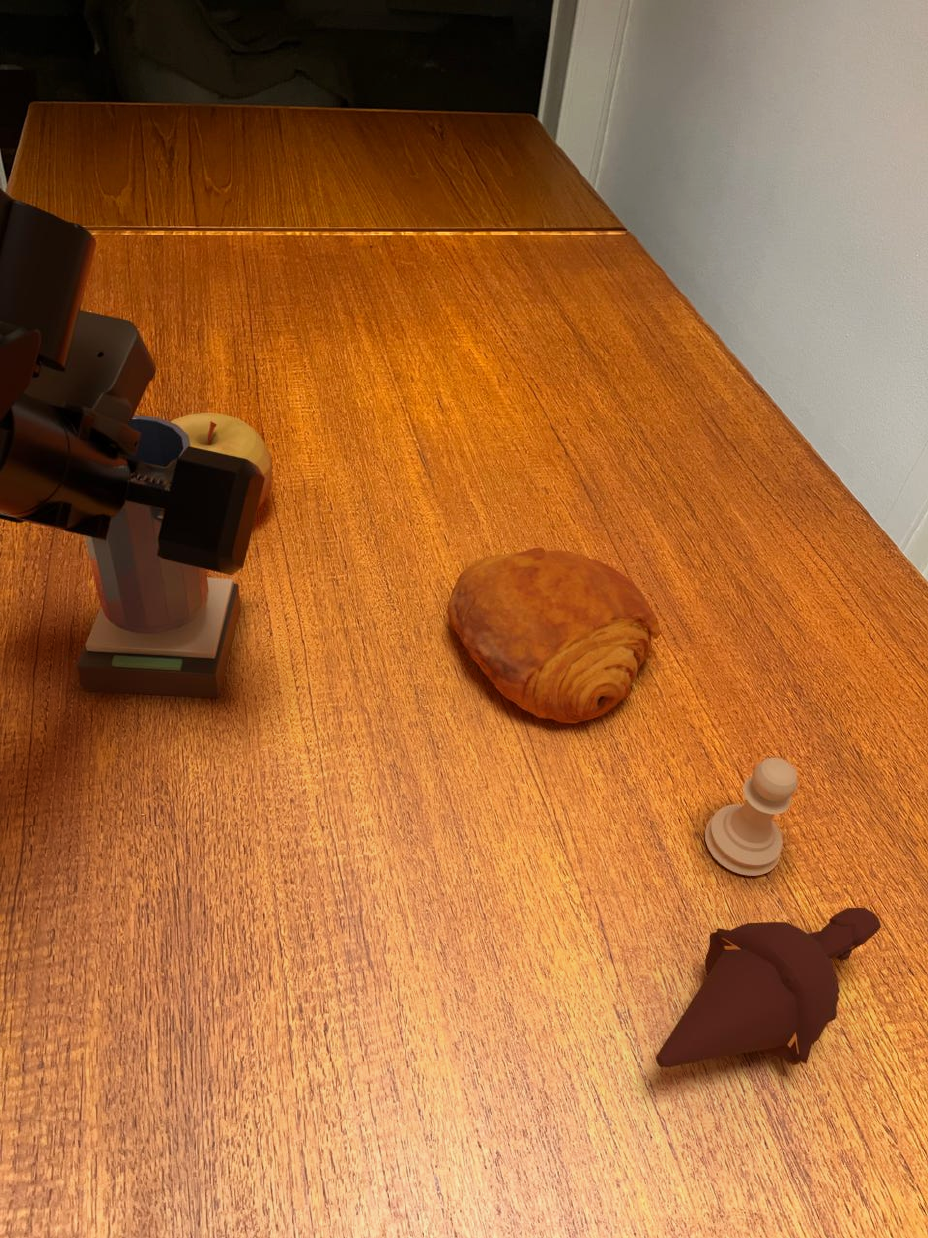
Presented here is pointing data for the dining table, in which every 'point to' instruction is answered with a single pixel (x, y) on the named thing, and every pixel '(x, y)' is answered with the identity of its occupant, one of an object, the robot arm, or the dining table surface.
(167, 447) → the cup
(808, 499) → the dining table surface
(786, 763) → the chess piece
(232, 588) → the scale
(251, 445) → the apple
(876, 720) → the dining table surface
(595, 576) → the croissant
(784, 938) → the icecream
